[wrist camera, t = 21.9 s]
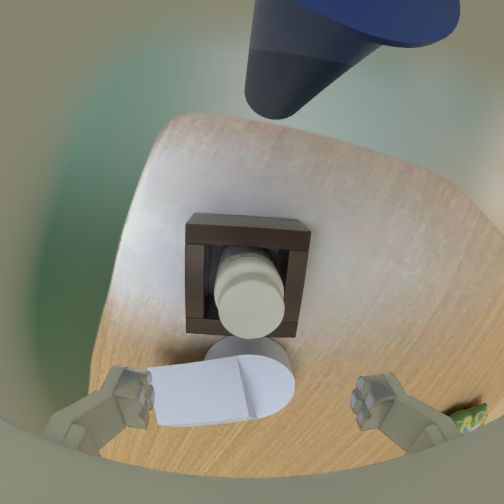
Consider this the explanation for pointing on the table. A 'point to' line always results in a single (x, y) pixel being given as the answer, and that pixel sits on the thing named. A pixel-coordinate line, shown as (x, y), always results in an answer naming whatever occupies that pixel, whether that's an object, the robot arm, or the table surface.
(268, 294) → the pill bottle
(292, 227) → the socket
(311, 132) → the table surface
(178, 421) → the wedge on round base
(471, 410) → the educational model
